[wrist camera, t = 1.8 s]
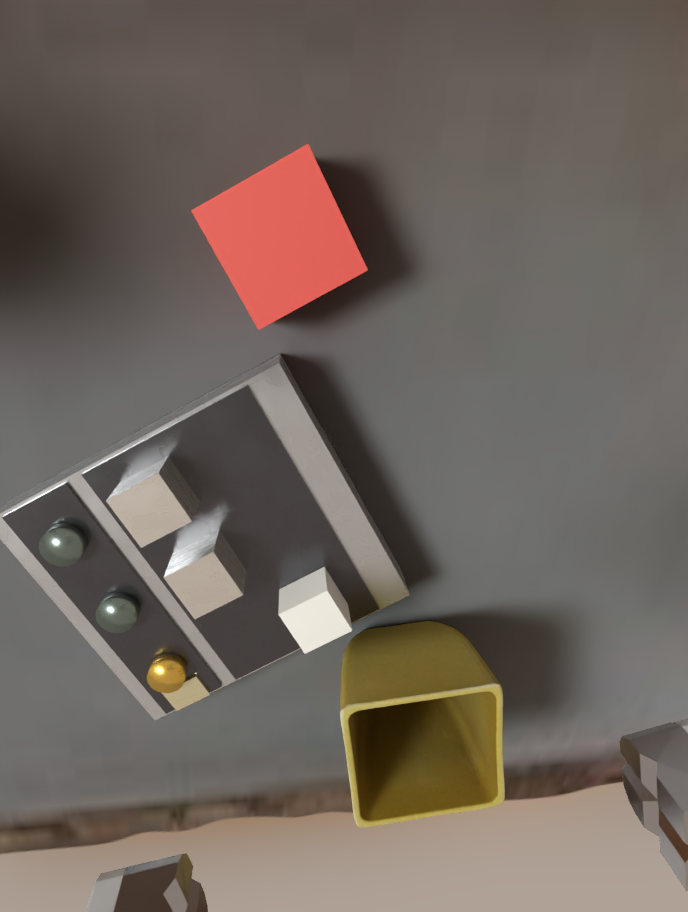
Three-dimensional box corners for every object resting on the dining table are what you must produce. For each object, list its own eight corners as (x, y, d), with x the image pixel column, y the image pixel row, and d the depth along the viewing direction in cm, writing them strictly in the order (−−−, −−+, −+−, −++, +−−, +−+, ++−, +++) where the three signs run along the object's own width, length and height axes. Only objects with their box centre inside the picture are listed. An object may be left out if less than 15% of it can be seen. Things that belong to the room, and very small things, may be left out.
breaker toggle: (324, 566, 33) (327, 590, 31) (348, 604, 34) (352, 630, 32) (279, 589, 33) (278, 614, 31) (303, 626, 34) (304, 653, 32)
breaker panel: (280, 353, 32) (278, 373, 27) (401, 569, 37) (419, 622, 32) (11, 498, 33) (-42, 545, 28) (164, 686, 39) (144, 755, 34)
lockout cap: (305, 157, 29) (307, 143, 25) (359, 268, 31) (368, 270, 27) (203, 215, 29) (191, 210, 26) (262, 321, 31) (258, 330, 28)
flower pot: (328, 608, 38) (339, 710, 30) (457, 589, 38) (504, 685, 30) (342, 711, 41) (355, 830, 33) (461, 693, 41) (505, 806, 33)
